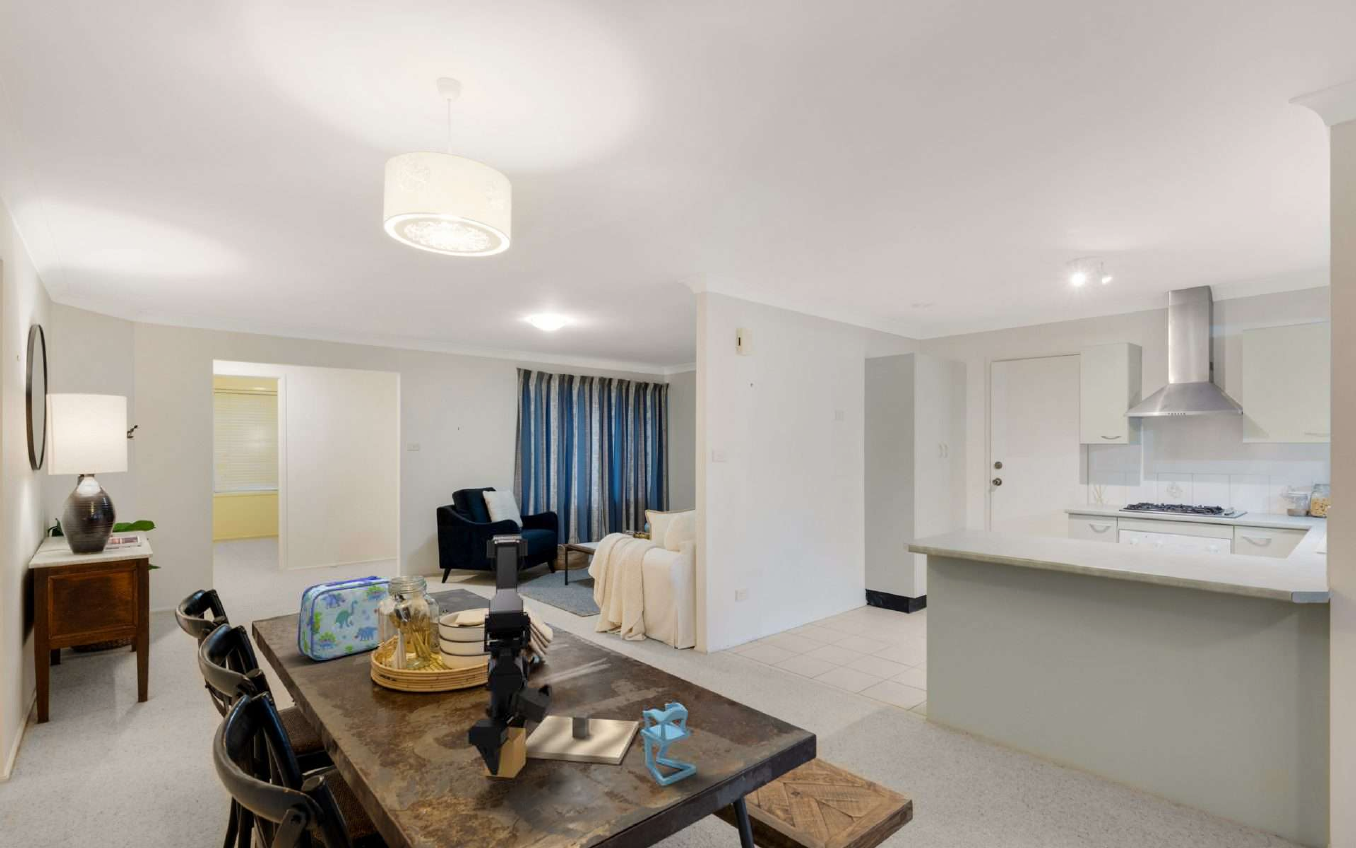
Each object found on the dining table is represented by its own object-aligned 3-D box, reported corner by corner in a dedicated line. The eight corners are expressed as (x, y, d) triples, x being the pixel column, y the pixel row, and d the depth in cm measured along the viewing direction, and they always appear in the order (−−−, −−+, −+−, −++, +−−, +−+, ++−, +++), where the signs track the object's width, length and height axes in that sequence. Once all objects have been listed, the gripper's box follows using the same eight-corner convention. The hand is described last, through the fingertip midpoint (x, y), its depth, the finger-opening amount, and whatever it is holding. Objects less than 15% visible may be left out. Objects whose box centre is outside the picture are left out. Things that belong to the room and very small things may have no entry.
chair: (668, 756, 124) (667, 692, 124) (696, 772, 117) (695, 704, 118) (635, 769, 119) (634, 702, 119) (663, 787, 112) (662, 716, 113)
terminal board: (517, 756, 124) (517, 728, 124) (547, 721, 140) (547, 697, 140) (619, 764, 121) (618, 735, 121) (638, 727, 136) (638, 702, 137)
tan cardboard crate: (485, 775, 117) (485, 739, 117) (498, 761, 122) (498, 726, 122) (513, 778, 116) (513, 741, 116) (525, 763, 121) (525, 728, 121)
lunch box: (385, 637, 203) (385, 569, 204) (402, 643, 197) (403, 573, 197) (294, 659, 183) (295, 583, 184) (310, 666, 176) (311, 588, 177)
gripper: (527, 698, 109) (527, 793, 109) (565, 661, 127) (565, 742, 127) (465, 694, 111) (465, 787, 110) (511, 659, 129) (511, 738, 129)
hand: (505, 762), depth 119 cm, fingers open, 9 cm apart
